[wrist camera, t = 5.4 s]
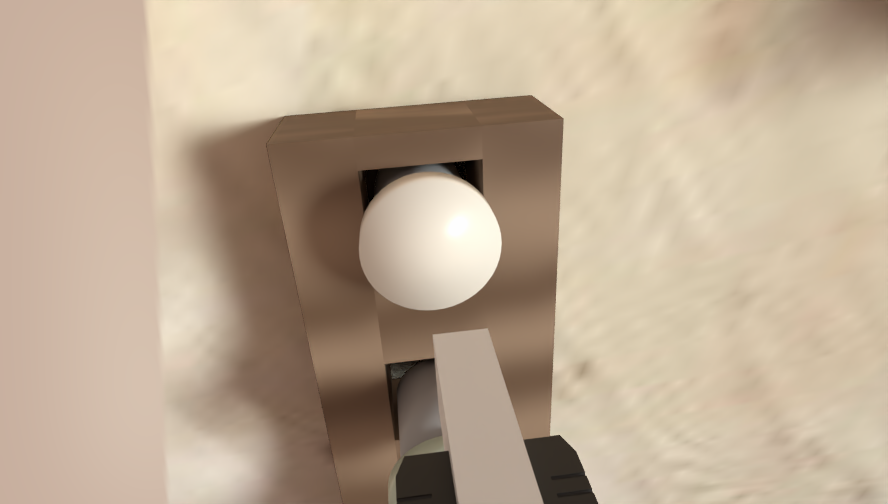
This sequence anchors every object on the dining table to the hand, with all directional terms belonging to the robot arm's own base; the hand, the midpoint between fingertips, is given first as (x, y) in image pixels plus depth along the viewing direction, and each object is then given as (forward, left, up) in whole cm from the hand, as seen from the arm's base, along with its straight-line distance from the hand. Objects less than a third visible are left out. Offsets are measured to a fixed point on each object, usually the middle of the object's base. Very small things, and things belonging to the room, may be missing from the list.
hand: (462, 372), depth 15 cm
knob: (0, 0, -14) cm, 14 cm away
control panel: (-10, 0, -15) cm, 18 cm away
